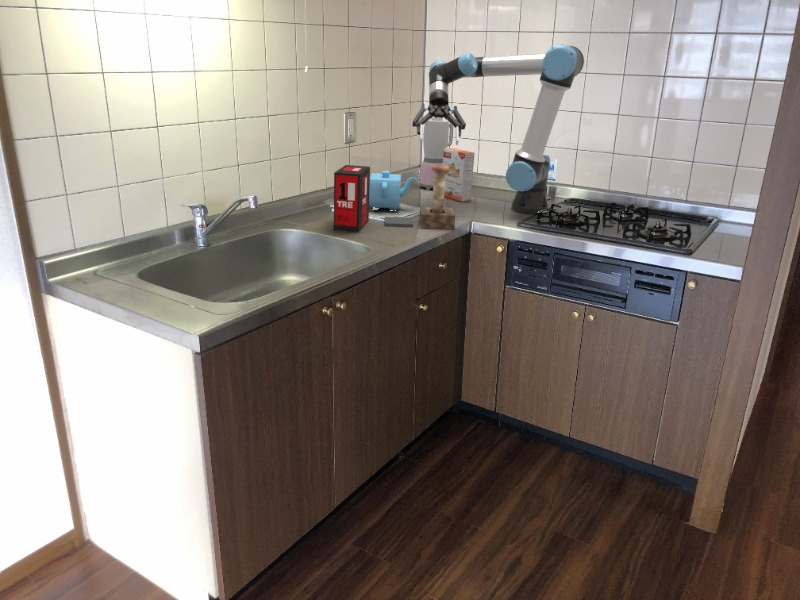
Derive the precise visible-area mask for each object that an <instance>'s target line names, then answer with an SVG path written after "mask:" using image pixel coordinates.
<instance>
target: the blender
mask: <svg viewBox="0 0 800 600" xmlns="http://www.w3.org/2000/svg"><path fill="white" fill-rule="evenodd" d="M453 139H454V126H453V125H452V124H451V123H450V122H449V121H448V120H446V119H444V117H443V118H439V117H438V118H435V117H432V118H431V119H429V120H428V121H427V122H426V123H425V124H424V127H423V139H422V145H423V154H424V155H423V156H424V157H423V161H422V162H421V164H420V165H421V166H420V173H419V174H420V175H419V176H420V177H419V188H420V189H422V187H423V188H425V190H426V191H431V189H433V187H434V172H435V171H433V170H431V166H433V165H443V154H444V149H445V148H449V147H450V146H452V144H453Z"/></svg>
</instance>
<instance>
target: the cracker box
mask: <svg viewBox="0 0 800 600" xmlns="http://www.w3.org/2000/svg"><path fill="white" fill-rule="evenodd" d="M475 154H476V153H475V152H473V151H469V150H465V149H460V148H456V147H447V148H445V149H444V154H443V166H448V167H449V171H447V172H446V174H445V189H444V198H447V199H450V200H454V201H457V202H459V203H464V202H469V201H471V199H472V187H473V177H474V163H475Z"/></svg>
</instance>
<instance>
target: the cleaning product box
mask: <svg viewBox="0 0 800 600" xmlns="http://www.w3.org/2000/svg"><path fill="white" fill-rule="evenodd" d="M333 173H334V174H333V231H336V232H337V231H338V232H349V233H350V232H351V233H352V232H353V233H360V232H361V230H362V229H363V228H364V227H365V226H366V224H368V222H369V221H370V220H369V219H370V216H369V215H370V213H369V211H370V207H369V188H370V177H371V167H370V166H368V165H367V166H364V165H353V164H351V165H350V164H345V165H343V166H342V167H340V168H338V170H336V171H333Z"/></svg>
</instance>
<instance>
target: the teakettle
mask: <svg viewBox="0 0 800 600" xmlns="http://www.w3.org/2000/svg"><path fill="white" fill-rule="evenodd" d="M416 179H417V177H416V176H414V177H413V176H412V177H408V179H406V181H405V184H404V186H403V187H401V185H402V175H401V174H398V173H397V174H396V173H395V174H393V173H391V171H389V170H383V171H381V173H378V172H377V173H373V172H372V173H371V174H370V188H369V208H373V207H375V208H379V209H382V208H383V209H388V210H393V211H395V210H397V209H400V205H401V199H402V198H403V197H404V196H406V194H407V193H408V191H409V189H410V185H411V183H412V182H413V181H414V180H416Z"/></svg>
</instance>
